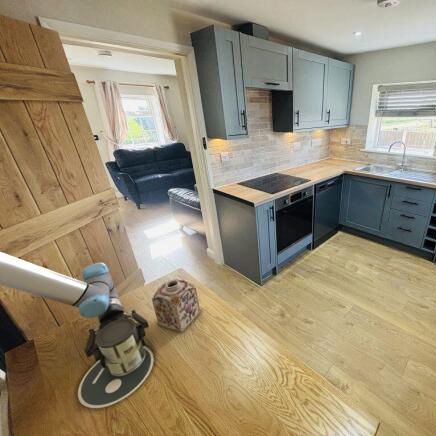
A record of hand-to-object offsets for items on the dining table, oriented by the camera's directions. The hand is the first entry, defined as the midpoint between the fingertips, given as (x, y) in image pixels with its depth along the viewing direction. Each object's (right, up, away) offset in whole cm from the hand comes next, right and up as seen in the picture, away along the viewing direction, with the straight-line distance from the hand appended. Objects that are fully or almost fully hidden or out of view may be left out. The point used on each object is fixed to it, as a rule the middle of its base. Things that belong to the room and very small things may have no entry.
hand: (124, 353), depth 74 cm
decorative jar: (+6, +1, +24) cm, 25 cm away
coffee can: (-3, -6, +6) cm, 9 cm away
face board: (-4, -8, +3) cm, 9 cm away
